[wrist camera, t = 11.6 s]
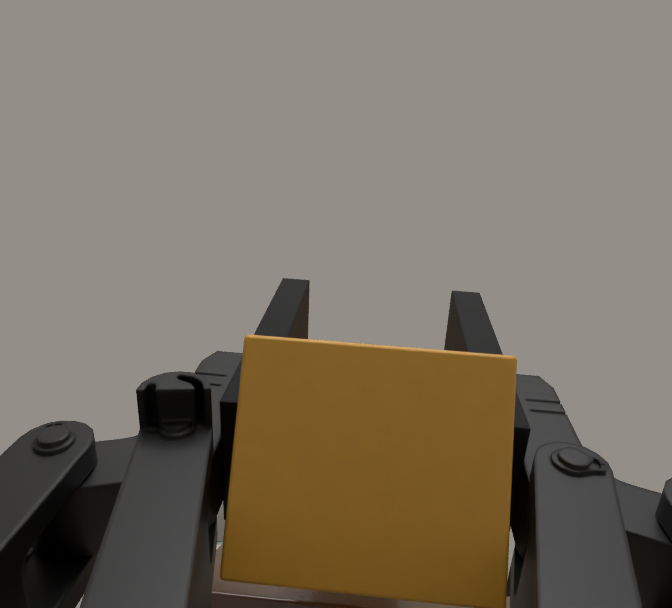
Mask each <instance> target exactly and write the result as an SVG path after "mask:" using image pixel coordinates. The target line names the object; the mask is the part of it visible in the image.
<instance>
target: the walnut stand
mask: <svg viewBox="0 0 672 608" xmlns="http://www.w3.org/2000/svg"><path fill="white" fill-rule="evenodd" d="M222 549H223V544H222V545H221V546H220V547H219V548H218V549H217V550H216V555H215V565H214V575H213V585H212V595H211V605H210V608H469V607H460V606H451V605H441V604H432V603H423V602H414V601H405V600H396V599H386V598H377V597H368V596H359V595H350V594H341V593H331V592H322V591H313V590H304V589H295V588H286V587H276V586H267V585H258V584H249V583H240V582H231V581H223V580H221V578H220V568H221V558H222ZM506 608H510V597H508V596H507V599H506Z"/></svg>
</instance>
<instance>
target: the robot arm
mask: <svg viewBox="0 0 672 608" xmlns="http://www.w3.org/2000/svg"><path fill="white" fill-rule="evenodd" d="M308 314H309V280H299V279H284V278H283V280H282V281H281V283H280V285H279V287H278V289H277V291H276V293H275V295H274V297H273V299H272V301H271V303H270V305H269V307H268V308H267V310H266V313H265V314H264V317H263V318H262V320H261V322H260V324H259V326H258V328H257V330H256V332H255V334H254V335H261V336H274V337H286V338H298V339H308ZM444 350H448V351H460V352H473V353H485V354H498V355H503V354H502V352H501V349H500V346H499V344H498V341H497V338H496V336H495V333H494V330H493V328H492V325H491V322H490V320H489V317H488V314H487V312H486V309H485V306H484V304H483V301H482V298H481V296H480V293H474V292H461V291H452V294H451V302H450V309H449V317H448V325H447V332H446V340H445V349H444ZM242 357H243V353H233V352H221V351H217V352H215V353H213V354H212V355H210V356H209V357H207V358H205V359H204V360H202V362H201V363H200V365H199V366H198V368H197V369H196V371H195V373H191V372H169V373H163V374H160V375H157V376H153V377H151V378H149V379H148V380H146V381H144V382H143V383H141V385H140V386H139V387H138V389H137V390H136V393H137V402H138V413H139V423H140V431H139V434H138V435H137V436H134V437H130V438H124V439H117V440H108V441H99V442H95V439H94V433H93V429H92V428H90V427H89V426H88V425H87V424H84V423H80V422H76V421H57V422H51V423H47V424H44V425H42V426H39V427H37V428H34V429H32V430H30V431H29V432H27V433H26V434H24V435H23V436H21V437H20V438H19V439H18V440H17V441H16V442H14V443H13V444H12V446H10V447H9V448H8V449H7V450H6V451H5V452H4V453H3V454H2V455H1V456H0V608H75V607H76V606H77V604H78V602H79V601H80V599H81V597H82V596H83V594H84V596H83V599H82V602H81V605H80V608H210V605H211V595H212V585H213V575H214V565H215V555H216V545H217V514H218V511H219V509H220V506H221V504H222V501H223V505H224V520H226V510H227V501H228V491H229V482H230V472H231V462H232V453H233V443H234V434H235V424H236V414H237V405H238V395H239V386H240V376H241V366H242ZM510 527H511V529H512V532H513V537H514V541H515V548H514V553H513V558H512V563H511V567H510V572H509V576H508V581H507V596H508V597H510V608H672V478H671V479H669V480H667V481H666V483H665V486H664V489H663V492H662V494H661V493H657V492H654V491H650V490H647V489H643V488H640V487H637V486H634V485H631V484H628V483H625V482H622V481H619V480H617V479H615V478H614V476H613V472H612V470H611V468H610V466H609V464H608V462H606V461H605V460H604V459H603V458H602V457H601V456H600V455H598V454H597V453H595V452H593V451H591V450H589V449H587V448H586V447H583V446H582V445H581V443H580V441H579V439H578V437H577V435H576V433H575V431H574V428H573V427H572V424H571V422H570V421H569V419H568V416H567V415H565V410H564V408H563V406H562V405H561V404H560V400H559V398H558V396H557V394H556V392H555V390H554V388H553V387H551V386H550V385H549V384H548V383H547V382H545V381H544V380H543V379H542V378H540V377H539V376H531V375H519V374H516V393H515V416H514V439H513V461H512V484H511V507H510ZM509 531H510V530H509Z"/></svg>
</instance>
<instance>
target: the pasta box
mask: <svg viewBox="0 0 672 608" xmlns="http://www.w3.org/2000/svg"><path fill="white" fill-rule="evenodd" d="M516 368H517V360H516V357H514V356H509V355H498V354H485V353H473V352H460V351H448V350H435V349H423V348H411V347H398V346H385V345H373V344H361V343H347V342H335V341H322V340H311V339H298V338H286V337H274V336H261V335H247V336H246V337H245V339H244V347H243V357H242V366H241V376H240V386H239V395H238V405H237V414H236V424H235V434H234V443H233V453H232V462H231V472H230V482H229V491H228V501H227V510H226V520H225V530H224V539H223V549H222V558H221V568H220V578H221V580H223V581H231V582H240V583H249V584H258V585H267V586H276V587H286V588H295V589H304V590H313V591H322V592H331V593H341V594H350V595H359V596H368V597H377V598H386V599H396V600H405V601H414V602H423V603H432V604H441V605H451V606H460V607H469V608H506V599H507V576H508V575H507V574H508V552H509V530H510V507H511V484H512V461H513V439H514V416H515V393H516Z"/></svg>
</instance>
